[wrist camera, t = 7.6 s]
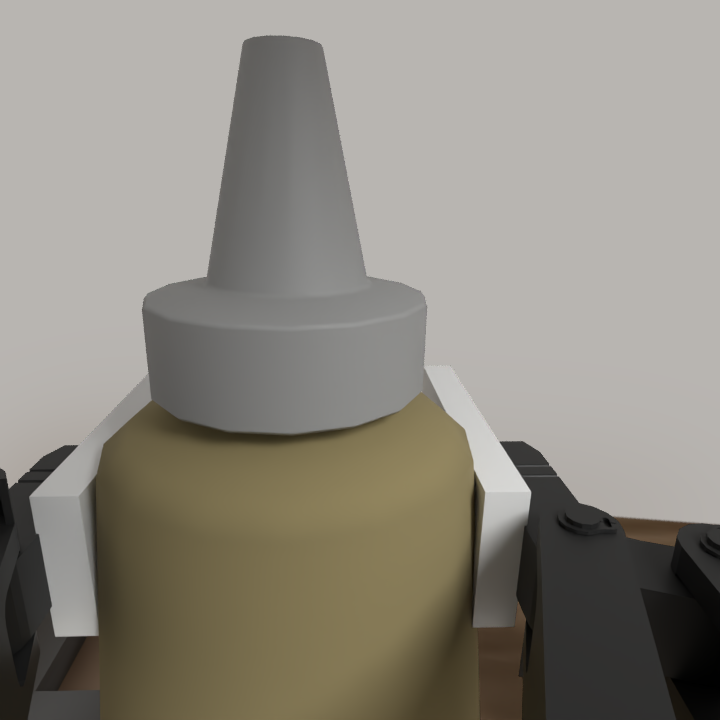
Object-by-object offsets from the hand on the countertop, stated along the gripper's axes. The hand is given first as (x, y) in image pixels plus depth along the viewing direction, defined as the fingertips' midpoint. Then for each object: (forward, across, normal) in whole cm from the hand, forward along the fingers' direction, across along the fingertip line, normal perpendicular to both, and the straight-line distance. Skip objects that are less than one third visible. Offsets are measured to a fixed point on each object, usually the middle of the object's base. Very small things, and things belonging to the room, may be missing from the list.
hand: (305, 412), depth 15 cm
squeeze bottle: (-5, 0, -10) cm, 11 cm away
